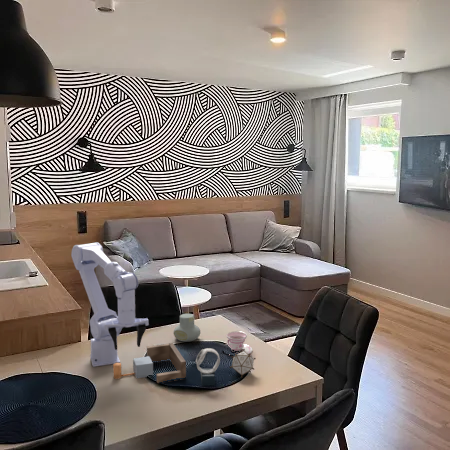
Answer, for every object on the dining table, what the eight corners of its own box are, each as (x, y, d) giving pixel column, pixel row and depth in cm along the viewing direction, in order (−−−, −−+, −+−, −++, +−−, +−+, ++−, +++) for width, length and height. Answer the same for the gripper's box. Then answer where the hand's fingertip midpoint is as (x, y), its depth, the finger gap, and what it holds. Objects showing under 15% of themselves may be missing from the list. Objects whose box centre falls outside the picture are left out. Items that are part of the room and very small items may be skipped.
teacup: (236, 342, 189) (236, 327, 188) (258, 350, 181) (259, 335, 180) (214, 350, 181) (214, 335, 180) (237, 359, 172) (237, 343, 171)
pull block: (114, 381, 154) (114, 368, 153) (112, 374, 159) (112, 361, 159) (153, 375, 158) (152, 363, 158) (149, 368, 164) (149, 356, 163)
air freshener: (170, 339, 191) (169, 316, 190) (182, 333, 198) (182, 310, 196) (191, 345, 185) (191, 321, 184) (203, 338, 192) (203, 315, 191)
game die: (240, 381, 163) (243, 352, 168) (259, 380, 157) (261, 350, 162) (223, 375, 157) (226, 346, 162) (242, 374, 152) (244, 343, 157)
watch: (195, 377, 157) (195, 346, 156) (219, 377, 158) (219, 345, 156) (195, 385, 152) (195, 353, 150) (220, 384, 152) (220, 352, 151)
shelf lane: (157, 383, 153) (157, 365, 153) (147, 362, 169) (146, 346, 168) (185, 378, 157) (185, 361, 156) (172, 358, 173) (172, 342, 172)
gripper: (105, 314, 153) (106, 354, 155) (149, 310, 158) (150, 348, 159) (103, 308, 159) (104, 346, 161) (146, 304, 164) (146, 341, 166)
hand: (127, 347), depth 161 cm, fingers open, 7 cm apart
